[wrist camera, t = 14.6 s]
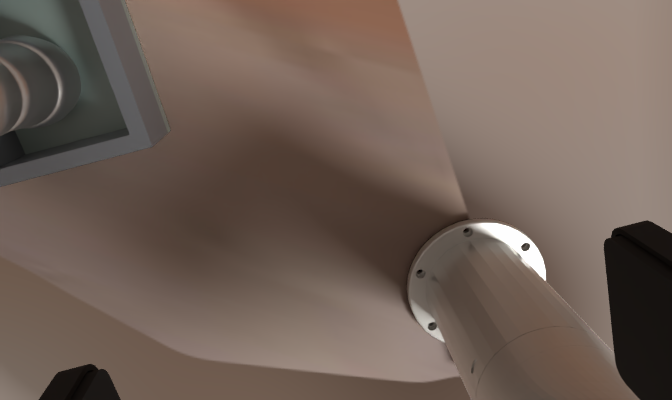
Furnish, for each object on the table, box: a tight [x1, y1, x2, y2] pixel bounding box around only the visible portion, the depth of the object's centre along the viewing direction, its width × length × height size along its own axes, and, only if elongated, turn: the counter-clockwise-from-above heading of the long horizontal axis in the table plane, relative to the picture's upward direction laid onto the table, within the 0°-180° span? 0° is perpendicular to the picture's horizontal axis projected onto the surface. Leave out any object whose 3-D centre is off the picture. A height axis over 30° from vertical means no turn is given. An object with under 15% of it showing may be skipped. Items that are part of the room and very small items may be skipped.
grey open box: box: [0, 0, 171, 187], centre depth 40 cm, size 13×12×6 cm
